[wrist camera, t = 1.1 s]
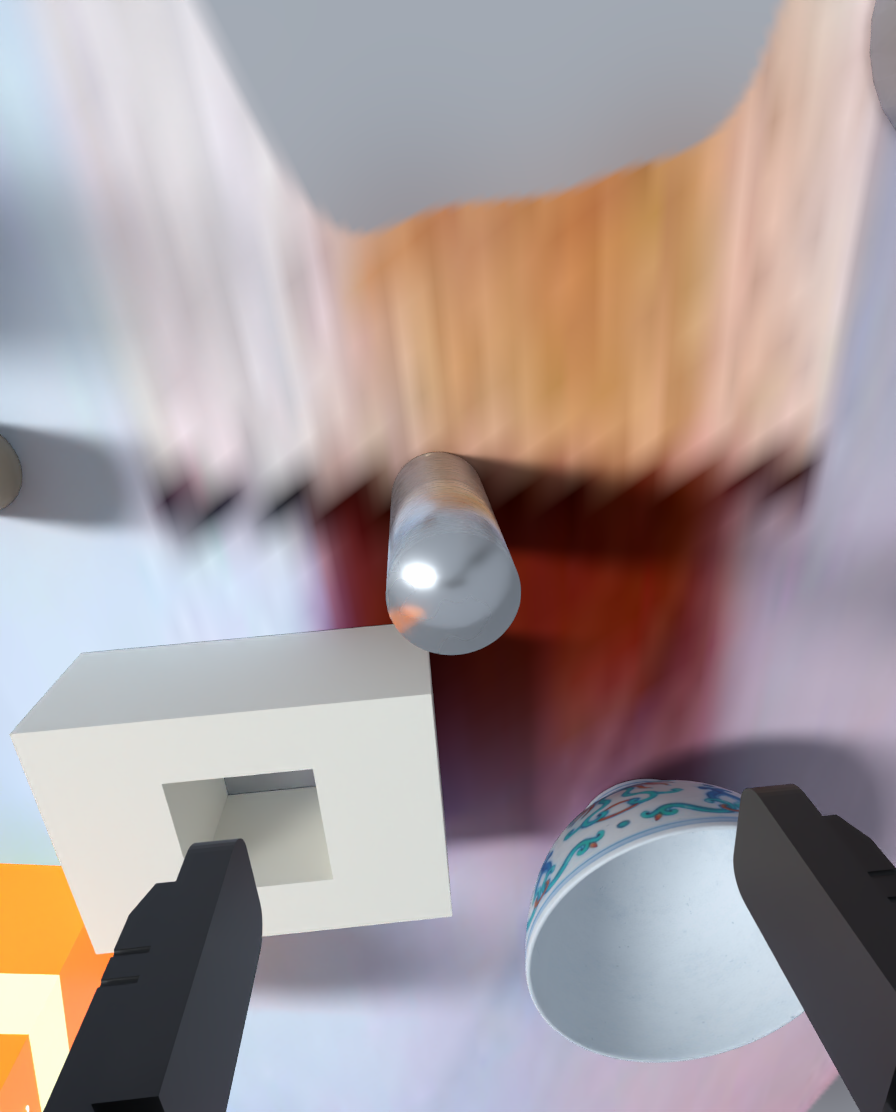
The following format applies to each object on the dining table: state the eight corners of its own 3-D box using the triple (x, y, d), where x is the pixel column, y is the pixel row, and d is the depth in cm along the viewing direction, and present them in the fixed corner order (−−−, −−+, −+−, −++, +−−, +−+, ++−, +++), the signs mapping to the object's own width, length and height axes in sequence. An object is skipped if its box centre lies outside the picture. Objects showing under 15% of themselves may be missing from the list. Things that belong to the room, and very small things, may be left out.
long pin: (480, 448, 28) (519, 526, 19) (485, 535, 30) (522, 648, 20) (387, 456, 28) (378, 539, 19) (396, 543, 30) (393, 660, 20)
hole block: (426, 621, 31) (431, 693, 26) (444, 818, 36) (452, 916, 30) (81, 653, 31) (9, 734, 25) (144, 848, 35) (96, 954, 30)
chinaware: (759, 904, 40) (838, 1040, 33) (512, 938, 39) (536, 1082, 32) (780, 695, 34) (880, 804, 27) (491, 733, 34) (514, 853, 27)
